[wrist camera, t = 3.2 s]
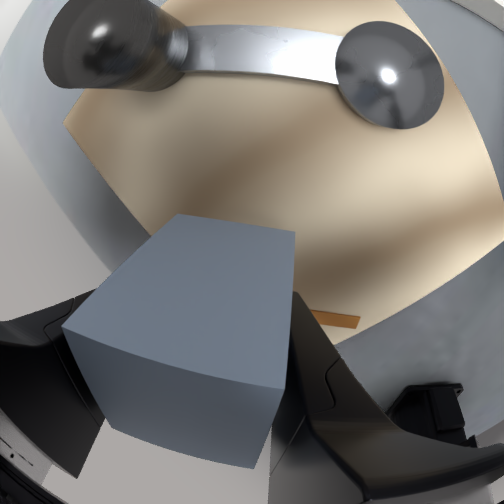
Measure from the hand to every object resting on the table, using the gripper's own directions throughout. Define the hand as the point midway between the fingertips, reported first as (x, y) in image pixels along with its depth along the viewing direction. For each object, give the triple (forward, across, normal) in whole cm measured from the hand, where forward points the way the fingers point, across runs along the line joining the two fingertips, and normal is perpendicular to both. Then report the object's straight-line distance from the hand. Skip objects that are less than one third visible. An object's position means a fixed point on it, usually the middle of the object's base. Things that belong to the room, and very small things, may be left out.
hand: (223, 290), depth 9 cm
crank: (+4, 0, -8) cm, 9 cm away
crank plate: (+6, -2, -4) cm, 7 cm away
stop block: (+1, 0, 0) cm, 1 cm away
